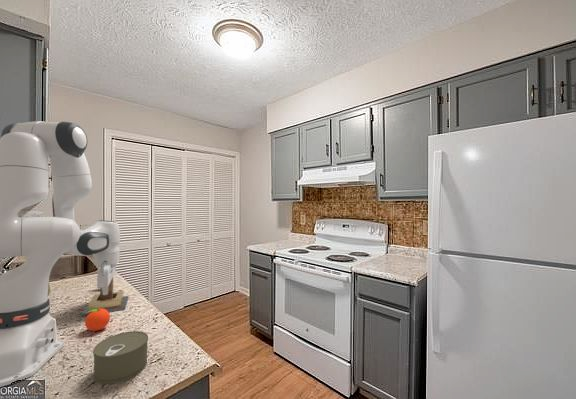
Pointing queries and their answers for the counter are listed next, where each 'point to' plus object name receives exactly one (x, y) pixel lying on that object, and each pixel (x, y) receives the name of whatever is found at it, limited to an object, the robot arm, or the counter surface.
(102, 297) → the peg
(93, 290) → the counter surface
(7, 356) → the robot arm
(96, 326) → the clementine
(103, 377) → the can
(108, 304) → the collar
